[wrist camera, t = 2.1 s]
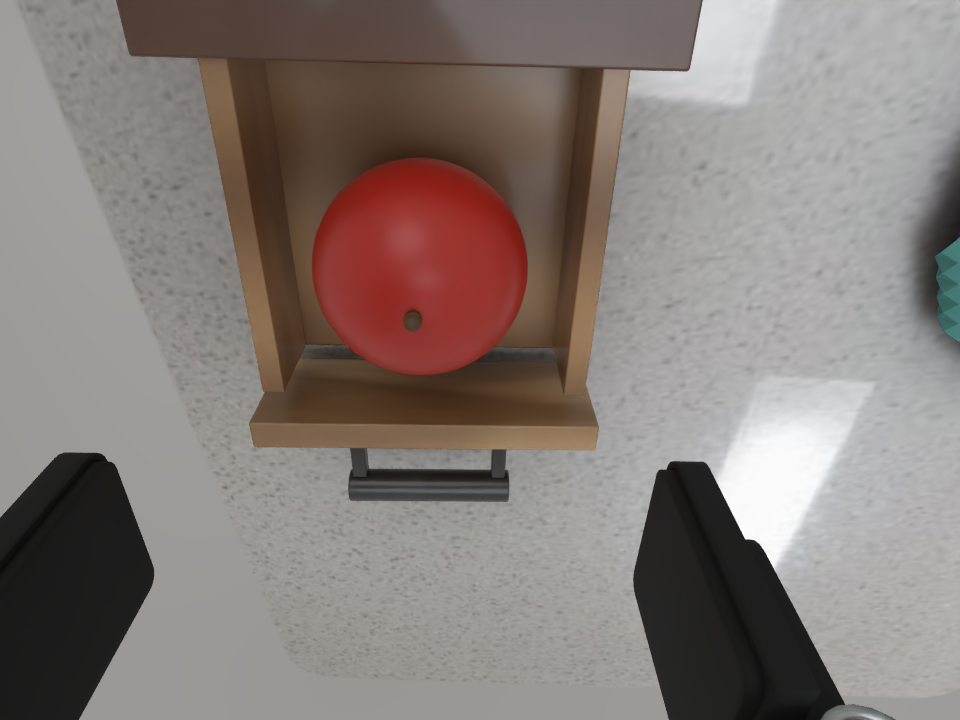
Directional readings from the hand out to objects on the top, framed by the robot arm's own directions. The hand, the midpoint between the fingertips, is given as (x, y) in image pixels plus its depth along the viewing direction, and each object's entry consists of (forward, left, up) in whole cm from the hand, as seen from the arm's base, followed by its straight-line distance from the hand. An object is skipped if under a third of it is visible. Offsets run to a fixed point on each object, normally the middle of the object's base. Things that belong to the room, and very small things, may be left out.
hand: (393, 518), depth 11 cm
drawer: (0, -1, -15) cm, 16 cm away
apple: (0, 0, -11) cm, 11 cm away
